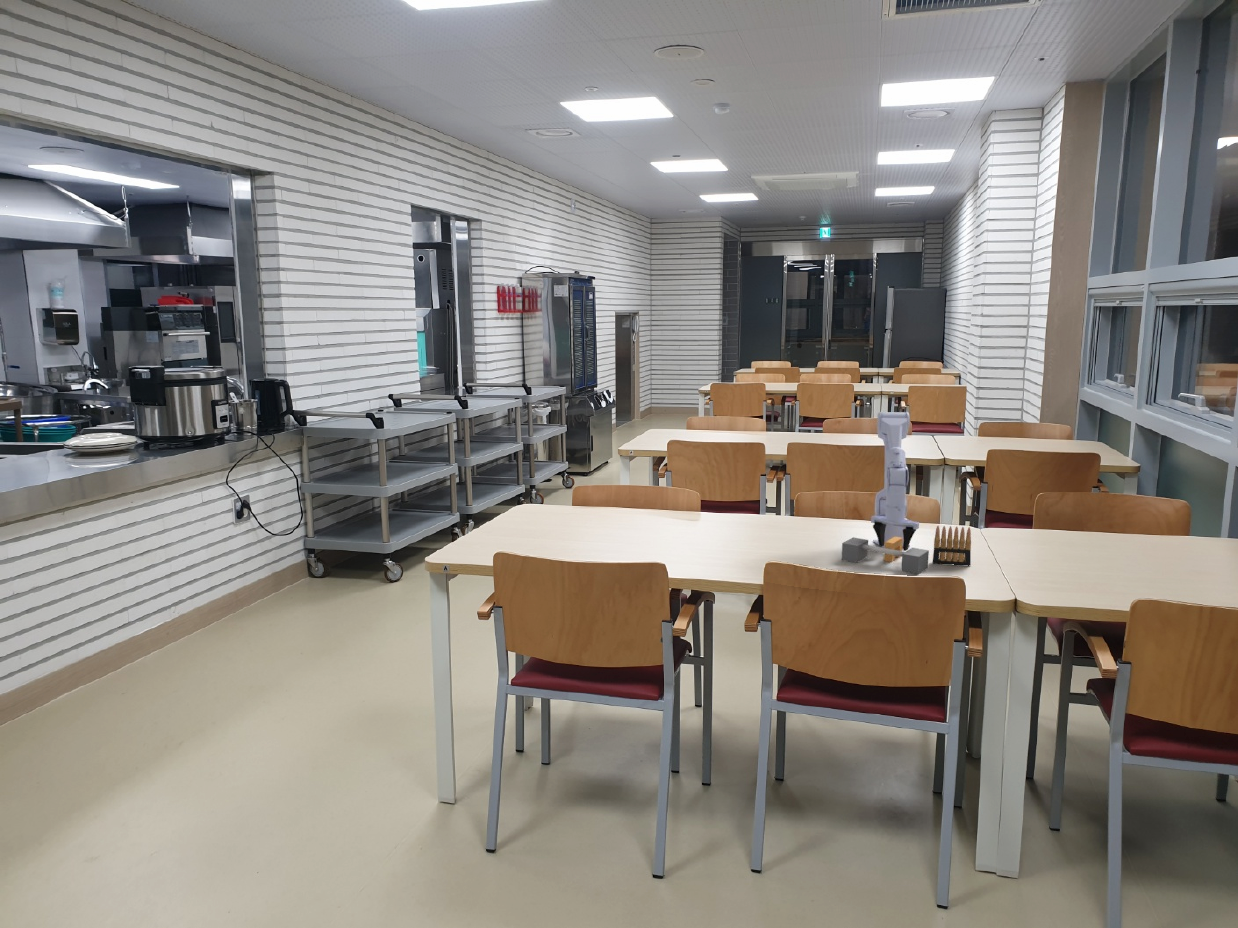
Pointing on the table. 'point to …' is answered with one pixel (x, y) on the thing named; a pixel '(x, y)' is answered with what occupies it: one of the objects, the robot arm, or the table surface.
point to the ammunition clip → (953, 553)
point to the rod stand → (911, 559)
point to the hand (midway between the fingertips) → (893, 547)
